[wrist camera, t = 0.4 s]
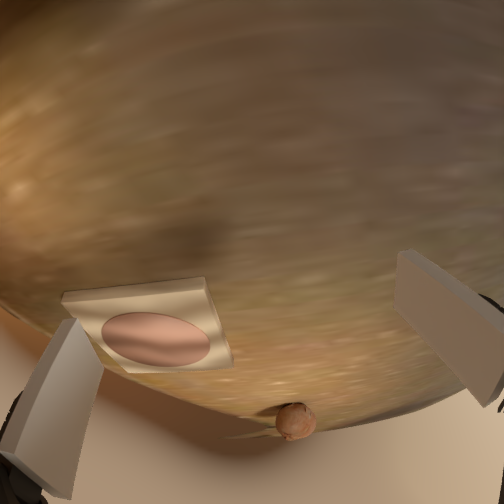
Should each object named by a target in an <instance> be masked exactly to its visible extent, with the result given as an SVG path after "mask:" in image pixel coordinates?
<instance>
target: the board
mask: <svg viewBox="0 0 504 504" xmlns="http://www.w3.org/2000/svg"><path fill="white" fill-rule="evenodd" d="M61 304H62V305H63V306H64V307H65V309H66V310H67V311H68V312H69V313H70V314H71V315H72V317H73V318H78V319H79V321H80V323H81V325H82V327H83V329H84V330H85V331H86V332H87V333H88V334H89V335H90V336H91V337H92V338H93V339H94V340H95V341H96V342H97V343H98V344H99V345H100V346H101V347H102V348H103V349H104V350H105V351H106V352H107V353H108V354H109V355H110V356H111V357H112V358H113V359H114V360H115V361H116V362H117V363H118V364H119V365H120V366H121V367H122V368H124V369H125V370H126V371H127V372H128V373H164V372H188V371H205V370H218V369H230V368H234V358H233V356H232V353H231V350H230V348H229V345H228V342H227V340H226V337H225V334H224V332H223V329H222V326H221V323H220V321H219V318H218V315H217V312H216V309H215V307H214V304H213V301H212V298H211V295H210V292H209V289H208V286H207V284H206V281H205V278H204V276H203V277H195V278H186V279H178V280H169V281H161V282H152V283H143V284H134V285H125V286H116V287H106V288H97V289H87V290H77V291H67V292H64V294H63V297H62V300H61Z"/></svg>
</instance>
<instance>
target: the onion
mask: <svg viewBox="0 0 504 504" xmlns="http://www.w3.org/2000/svg"><path fill="white" fill-rule="evenodd" d="M315 426H316V416H315V414H314V413H313V412H312V410H311V409H310V408H308V407H307V406H306V405H304V404H299V403H293V404H290V405H287V406H285V407H283V408H282V409H281V410H280V411H279V413H278V414H277V417H276V428H277V430H278V432H279V433H280V434H281V435H282V436H283V437H284V438H285V439H286V440H287V441H293V440H296V439H300V438H304V437H307V436H309V435H310V434H311V433H312V432H313V430H314V429H315Z"/></svg>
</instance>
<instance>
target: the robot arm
mask: <svg viewBox="0 0 504 504" xmlns="http://www.w3.org/2000/svg"><path fill="white" fill-rule="evenodd" d="M393 308H394V309H395V310H396V311H397V312H398V313H399V314H400V315H401V316H402V317H403V318H404V319H405V321H406V322H407V323H408V324H409V325H410V326H411V327H412V328H413V329H414V330H415V331H416V332H417V333H418V334H419V335H420V336H421V337H422V339H423V340H424V341H425V342H426V343H427V344H428V345H429V346H430V347H431V348H432V349H433V350H434V352H435V353H436V354H437V355H438V356H439V357H440V358H441V359H442V360H443V362H444V363H445V364H446V365H447V366H448V367H449V368H450V369H451V371H452V372H453V373H454V374H455V375H456V376H457V377H458V379H459V380H460V381H461V382H462V383H463V384H464V386H465V387H466V388H467V389H468V390H469V391H470V393H471V394H472V395H473V396H474V397H475V398H476V399H477V401H478V402H479V403H480V405H481V406H482V407H483V408H484V407H486V406H487V405H489V404H490V403H491V402H493V401H494V400H496V399H497V398H498V397H499V395H500V393H501V391H502V390H503V388H504V308H502V307H500V305H499V304H497V303H496V302H495V301H493V300H492V299H491V298H488V297H486V296H483V295H481V294H477V293H475V292H474V291H473V290H471V289H470V288H469V287H467V286H466V285H465V284H463V283H462V282H460V281H459V280H458V279H456V278H455V277H453V276H452V275H450V274H449V273H448V272H446V271H445V270H443V269H442V268H440V267H439V266H437V265H436V264H435V263H433V262H432V261H430V260H429V259H427V258H426V257H424V256H423V255H421V254H420V253H418V252H416V251H415V250H413V249H408V250H404V251H400V252H398V257H397V273H396V286H395V296H394V306H393ZM103 371H104V367H103V365H102V363H101V362H100V360H99V358H98V356H97V354H96V353H95V351H94V349H93V347H92V345H91V343H90V341H89V339H88V337H87V335H86V333H85V331H84V329H83V327H82V325H81V323H80V321H79V319H78V318H71V319H64V320H63V321H62V322H61V324H60V326H59V327H58V329H57V331H56V332H55V334H54V336H53V337H52V339H51V341H50V343H49V344H48V346H47V348H46V350H45V351H44V353H43V355H42V357H41V359H40V360H39V362H38V364H37V366H36V368H35V369H34V371H33V373H32V375H31V377H30V379H29V381H28V383H27V385H26V387H25V389H24V390H23V391H22V392H21V393H20V394H19V395H18V397H17V398H16V399H15V400H14V402H13V404H12V406H11V408H10V410H9V411H10V413H8V414H7V417H6V421H4V423H3V426H2V428H1V430H0V504H48V502H47V500H46V499H45V498H44V496H42V495H41V492H42V489H44V490H45V491H46V492H48V493H49V494H51V495H52V496H54V497H58V498H63V499H67V500H71V497H72V491H73V486H74V481H75V476H76V471H77V466H78V462H79V457H80V453H81V449H82V444H83V440H84V436H85V432H86V428H87V425H88V421H89V417H90V414H91V410H92V407H93V403H94V400H95V396H96V393H97V390H98V386H99V383H100V380H101V377H102V374H103ZM503 407H504V399H503V401H502V402H501V404H500V406H499V407H498V412H501V410H502V408H503ZM498 504H504V470H503V477H502V485H501V491H500V497H499V503H498Z"/></svg>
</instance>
